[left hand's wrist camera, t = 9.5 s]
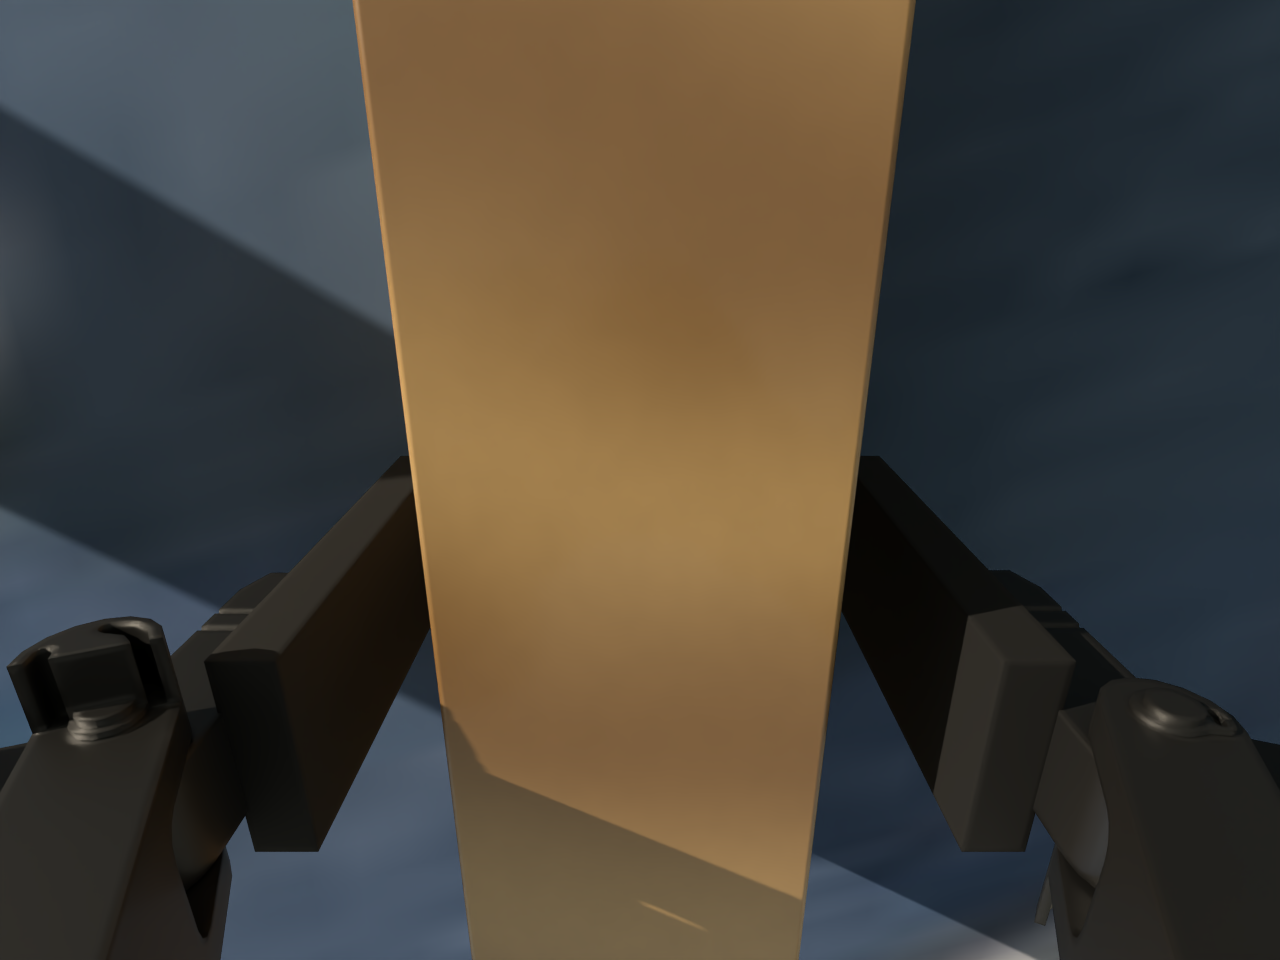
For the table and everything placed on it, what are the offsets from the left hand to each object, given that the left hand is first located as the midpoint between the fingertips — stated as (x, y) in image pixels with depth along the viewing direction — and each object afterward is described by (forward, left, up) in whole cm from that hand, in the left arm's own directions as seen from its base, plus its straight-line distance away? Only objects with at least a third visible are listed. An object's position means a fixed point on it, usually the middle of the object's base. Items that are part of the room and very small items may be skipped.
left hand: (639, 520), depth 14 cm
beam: (+9, +27, -2) cm, 28 cm away
